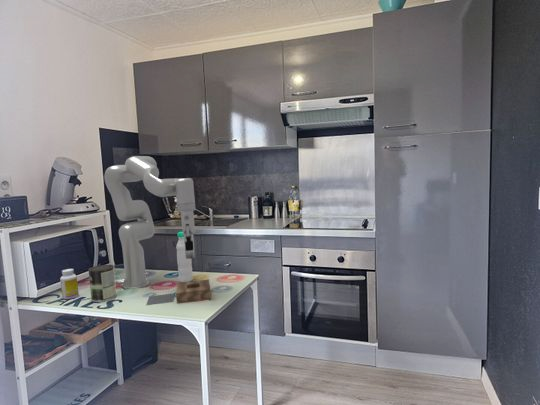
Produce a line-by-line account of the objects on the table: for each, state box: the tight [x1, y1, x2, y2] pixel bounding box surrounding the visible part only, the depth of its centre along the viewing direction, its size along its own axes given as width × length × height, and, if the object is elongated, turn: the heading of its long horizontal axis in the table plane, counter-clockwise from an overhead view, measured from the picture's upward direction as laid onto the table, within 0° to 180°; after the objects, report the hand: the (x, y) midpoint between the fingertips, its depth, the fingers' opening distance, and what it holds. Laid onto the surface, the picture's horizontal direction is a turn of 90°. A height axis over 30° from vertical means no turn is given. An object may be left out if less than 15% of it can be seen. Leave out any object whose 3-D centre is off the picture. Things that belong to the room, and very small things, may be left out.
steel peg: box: [184, 231, 196, 260], centre depth 152 cm, size 4×4×12 cm
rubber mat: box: [145, 292, 176, 306], centre depth 152 cm, size 11×11×1 cm
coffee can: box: [87, 264, 117, 303], centre depth 159 cm, size 10×10×14 cm
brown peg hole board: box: [175, 278, 212, 305], centre depth 154 cm, size 14×14×5 cm
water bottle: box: [175, 231, 194, 283], centre depth 177 cm, size 7×7×25 cm
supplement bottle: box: [59, 268, 80, 300], centre depth 162 cm, size 7×7×13 cm
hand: (189, 248), depth 152 cm, fingers closed on steel peg, 4 cm apart
